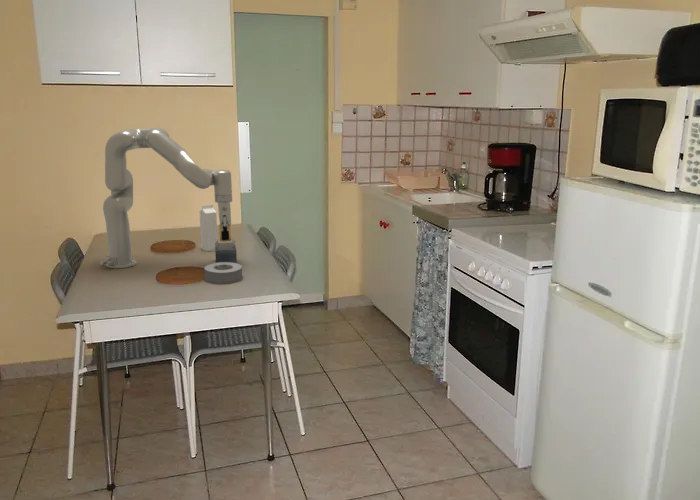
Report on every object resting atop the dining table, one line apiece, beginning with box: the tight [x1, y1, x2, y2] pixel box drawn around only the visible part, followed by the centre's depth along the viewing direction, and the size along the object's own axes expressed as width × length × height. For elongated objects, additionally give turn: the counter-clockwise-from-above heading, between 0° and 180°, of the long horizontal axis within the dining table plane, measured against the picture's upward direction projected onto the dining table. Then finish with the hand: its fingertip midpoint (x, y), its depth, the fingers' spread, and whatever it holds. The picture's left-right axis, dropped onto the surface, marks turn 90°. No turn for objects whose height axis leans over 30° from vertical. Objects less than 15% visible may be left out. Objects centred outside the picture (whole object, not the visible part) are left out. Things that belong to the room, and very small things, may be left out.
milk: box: [199, 204, 219, 252], centre depth 293 cm, size 6×6×22 cm
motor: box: [214, 238, 238, 264], centre depth 271 cm, size 17×9×11 cm, turn 13°
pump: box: [218, 223, 232, 242], centre depth 268 cm, size 5×5×8 cm
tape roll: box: [204, 262, 243, 285], centre depth 249 cm, size 15×15×5 cm
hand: (225, 238), depth 268 cm, fingers closed on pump, 5 cm apart
